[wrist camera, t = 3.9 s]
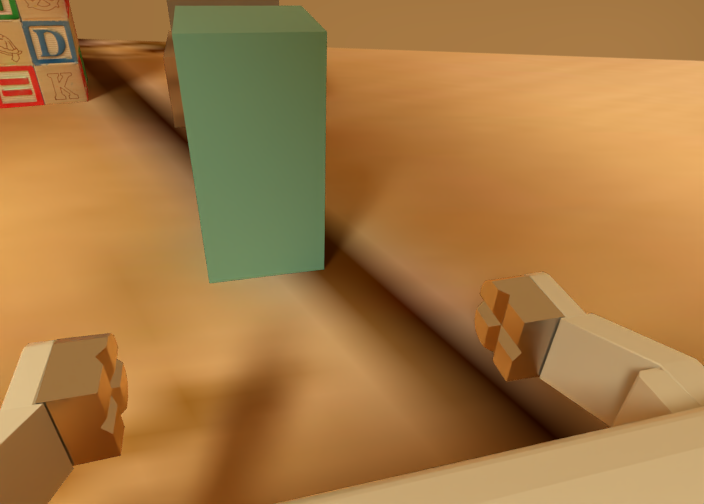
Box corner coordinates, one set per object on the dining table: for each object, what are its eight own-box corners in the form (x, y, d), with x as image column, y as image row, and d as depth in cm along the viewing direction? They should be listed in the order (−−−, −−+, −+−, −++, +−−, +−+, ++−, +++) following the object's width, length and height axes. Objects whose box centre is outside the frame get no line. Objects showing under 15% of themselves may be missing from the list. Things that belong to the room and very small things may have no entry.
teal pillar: (324, 269, 23) (326, 31, 17) (209, 283, 22) (171, 33, 16) (304, 213, 27) (301, 5, 21) (206, 223, 26) (175, 5, 20)
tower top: (280, 52, 35) (277, -29, 32) (175, 55, 34) (162, -31, 31) (267, 30, 41) (263, -41, 38) (175, 32, 39) (164, -43, 36)
